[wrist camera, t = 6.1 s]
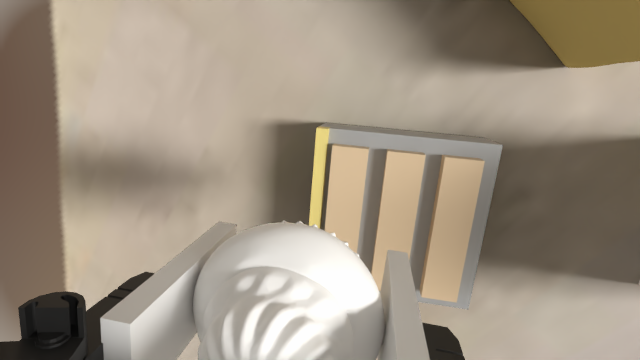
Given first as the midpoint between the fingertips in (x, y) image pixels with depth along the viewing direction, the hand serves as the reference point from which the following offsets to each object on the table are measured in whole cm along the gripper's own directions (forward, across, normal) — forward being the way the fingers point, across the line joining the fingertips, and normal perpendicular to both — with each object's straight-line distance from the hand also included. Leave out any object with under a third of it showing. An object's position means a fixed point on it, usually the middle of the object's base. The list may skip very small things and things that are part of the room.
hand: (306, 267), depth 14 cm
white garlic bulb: (+1, 0, 0) cm, 1 cm away
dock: (+15, +4, -1) cm, 16 cm away
